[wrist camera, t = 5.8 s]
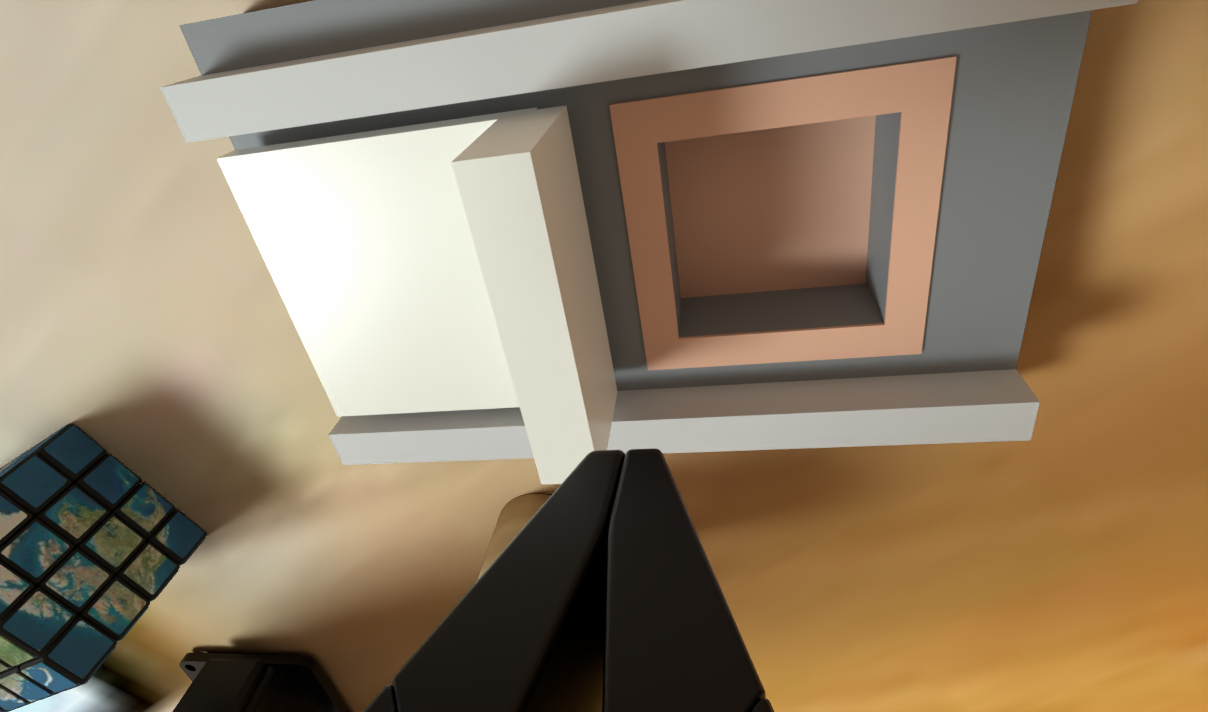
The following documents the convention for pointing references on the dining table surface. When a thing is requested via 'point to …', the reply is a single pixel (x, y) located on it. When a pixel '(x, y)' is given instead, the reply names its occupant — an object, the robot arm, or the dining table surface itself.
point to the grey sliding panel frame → (723, 194)
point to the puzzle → (77, 562)
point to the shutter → (441, 272)
